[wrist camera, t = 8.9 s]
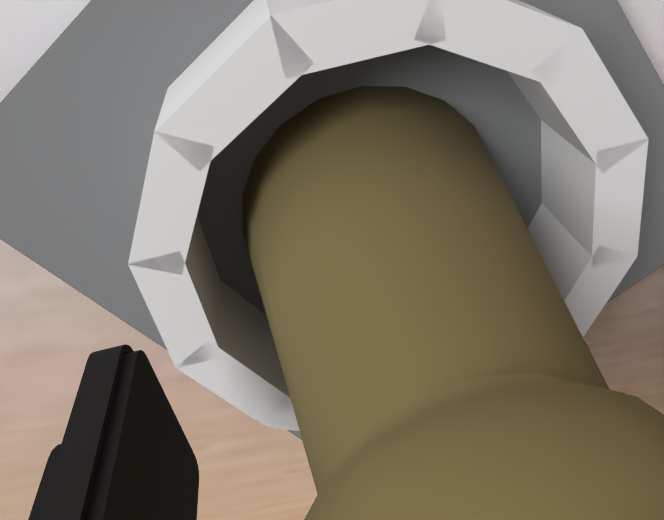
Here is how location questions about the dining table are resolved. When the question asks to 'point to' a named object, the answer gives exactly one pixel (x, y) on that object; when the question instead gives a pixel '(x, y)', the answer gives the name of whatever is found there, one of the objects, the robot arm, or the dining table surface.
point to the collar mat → (279, 106)
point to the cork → (431, 328)
